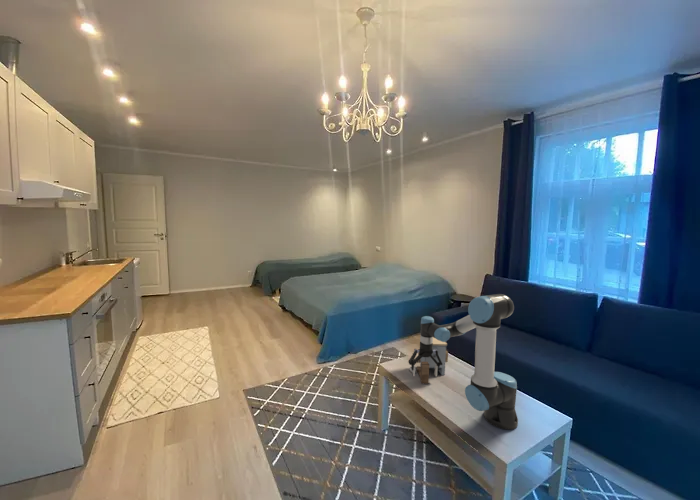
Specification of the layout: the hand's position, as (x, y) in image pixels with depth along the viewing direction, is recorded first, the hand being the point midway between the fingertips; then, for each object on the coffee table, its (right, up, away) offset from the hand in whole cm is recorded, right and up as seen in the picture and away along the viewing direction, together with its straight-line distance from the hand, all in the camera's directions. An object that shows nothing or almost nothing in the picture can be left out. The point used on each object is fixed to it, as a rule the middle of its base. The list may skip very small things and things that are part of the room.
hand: (424, 375), depth 181 cm
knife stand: (+13, -1, +28) cm, 31 cm away
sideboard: (+8, -3, +14) cm, 16 cm away
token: (-4, -3, +13) cm, 14 cm away
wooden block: (0, -3, +7) cm, 8 cm away
